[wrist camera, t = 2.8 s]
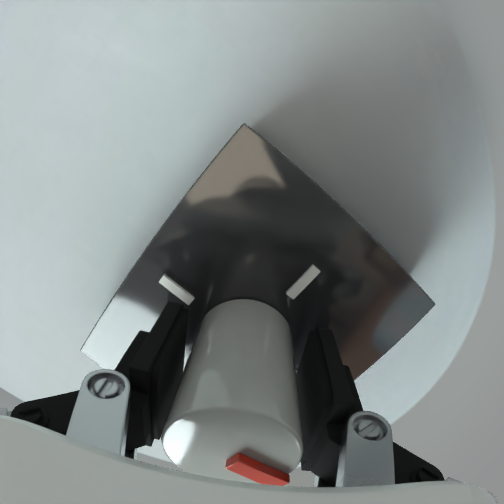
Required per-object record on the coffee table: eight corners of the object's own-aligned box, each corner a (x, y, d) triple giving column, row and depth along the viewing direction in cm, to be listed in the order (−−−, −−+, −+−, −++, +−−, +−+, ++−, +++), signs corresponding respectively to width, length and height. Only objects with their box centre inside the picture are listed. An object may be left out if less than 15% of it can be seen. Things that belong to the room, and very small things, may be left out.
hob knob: (180, 341, 12) (134, 456, 7) (237, 278, 11) (212, 392, 6) (250, 388, 13) (241, 506, 7) (311, 335, 12) (335, 458, 6)
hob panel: (249, 128, 13) (243, 122, 10) (409, 277, 14) (437, 306, 11) (105, 320, 16) (78, 352, 13) (249, 418, 17) (246, 458, 14)
